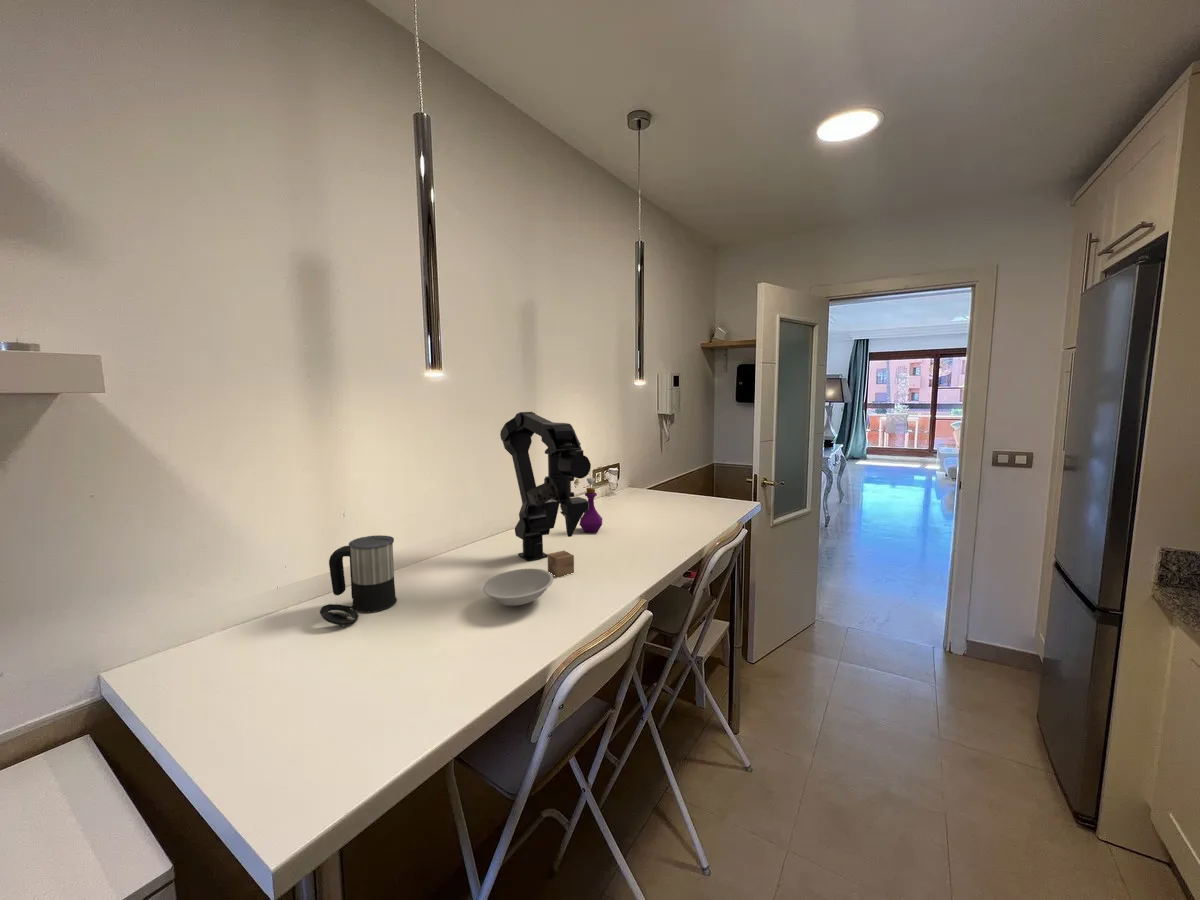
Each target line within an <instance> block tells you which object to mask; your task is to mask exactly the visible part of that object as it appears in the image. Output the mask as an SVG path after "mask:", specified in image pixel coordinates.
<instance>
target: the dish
mask: <svg viewBox="0 0 1200 900" xmlns="http://www.w3.org/2000/svg"><path fill="white" fill-rule="evenodd" d="M553 582H554V576H553V575H552V574H551V573H549V572H548V570H543V569H539V568H519V569H514V570H513V569H512V570H509V571H505V572H502V573H500V574H498V575H497V574H496V575H495V576H493V577H491V578H489V579H488V580H487V581H486V582H485V583H484V585H483V593H484V594H485V595H486V596H488V597H490V598H491V599H493V601H495V602H497V603H499V604H502V605H505V606H511V607H512V606H514V607H515V606H523V605H526V604H530V603H531V602H533V601H535V600H537V599H539V597H541V596H542V595H543V594H544V592H546V591H547V589H548V588H549V587H550V586H552V584H553Z"/></svg>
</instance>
